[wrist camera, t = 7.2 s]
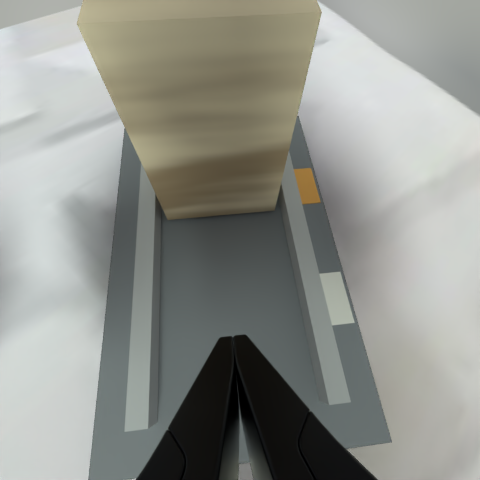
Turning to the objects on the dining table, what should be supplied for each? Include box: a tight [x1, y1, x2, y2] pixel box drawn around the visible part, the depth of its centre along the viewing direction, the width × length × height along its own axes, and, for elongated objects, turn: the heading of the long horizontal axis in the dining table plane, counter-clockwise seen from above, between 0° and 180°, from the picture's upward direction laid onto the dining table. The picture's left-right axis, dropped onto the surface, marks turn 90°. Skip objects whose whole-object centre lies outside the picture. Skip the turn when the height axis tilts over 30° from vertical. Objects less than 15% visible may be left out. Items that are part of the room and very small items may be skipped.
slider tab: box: [77, 0, 322, 220], centre depth 14 cm, size 4×7×11 cm, turn 96°
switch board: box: [88, 116, 392, 480], centre depth 17 cm, size 22×14×3 cm, turn 6°
